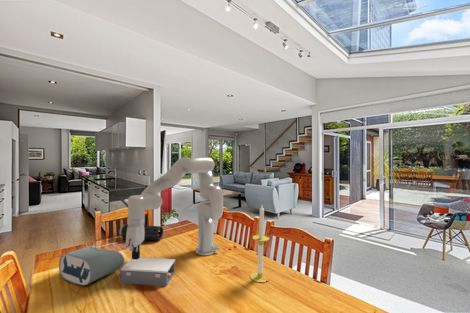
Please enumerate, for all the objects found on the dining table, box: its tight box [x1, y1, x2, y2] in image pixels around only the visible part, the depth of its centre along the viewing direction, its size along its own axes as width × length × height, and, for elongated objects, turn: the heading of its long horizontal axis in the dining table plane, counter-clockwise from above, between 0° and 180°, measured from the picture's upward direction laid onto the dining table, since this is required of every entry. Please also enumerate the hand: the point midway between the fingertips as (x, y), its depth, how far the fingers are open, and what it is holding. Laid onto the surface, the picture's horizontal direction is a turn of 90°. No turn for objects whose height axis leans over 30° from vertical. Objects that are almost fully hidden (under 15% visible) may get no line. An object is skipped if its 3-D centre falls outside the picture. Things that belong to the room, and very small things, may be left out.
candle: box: [249, 204, 270, 283], centre depth 114 cm, size 10×10×38 cm
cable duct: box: [120, 261, 176, 287], centre depth 112 cm, size 22×13×6 cm, turn 86°
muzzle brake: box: [118, 223, 164, 242], centre depth 159 cm, size 10×28×10 cm, turn 84°
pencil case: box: [58, 244, 125, 286], centre depth 114 cm, size 22×19×13 cm
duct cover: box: [120, 256, 176, 273], centre depth 112 cm, size 22×12×1 cm, turn 86°
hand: (135, 258), depth 110 cm, fingers closed
